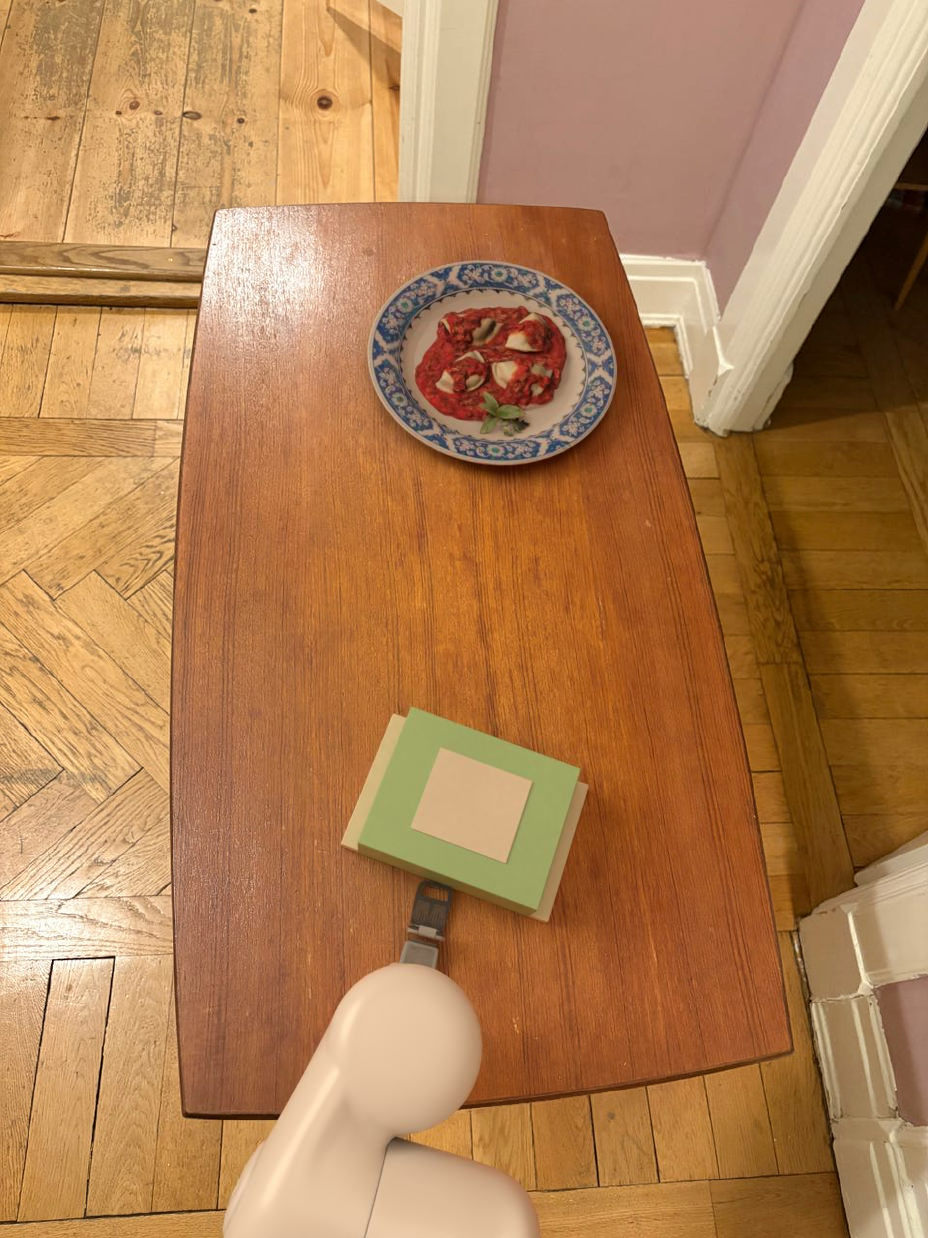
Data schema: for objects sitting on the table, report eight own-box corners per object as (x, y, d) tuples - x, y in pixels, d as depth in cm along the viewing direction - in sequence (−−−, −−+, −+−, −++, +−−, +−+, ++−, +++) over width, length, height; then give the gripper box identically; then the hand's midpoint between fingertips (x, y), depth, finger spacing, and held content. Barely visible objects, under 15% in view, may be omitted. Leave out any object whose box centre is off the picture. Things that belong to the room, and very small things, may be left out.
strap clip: (429, 997, 75) (432, 995, 71) (391, 987, 75) (393, 985, 71) (454, 888, 78) (459, 881, 74) (418, 879, 78) (421, 872, 74)
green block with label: (545, 923, 78) (556, 917, 73) (340, 846, 78) (339, 835, 74) (586, 788, 82) (599, 774, 78) (392, 716, 83) (394, 699, 79)
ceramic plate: (392, 254, 104) (393, 233, 101) (622, 299, 105) (629, 279, 102) (344, 449, 94) (343, 431, 91) (599, 497, 94) (606, 481, 91)
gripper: (412, 1213, 52) (399, 1173, 68) (498, 941, 58) (467, 965, 75) (284, 1162, 52) (302, 1135, 69) (383, 898, 58) (377, 931, 75)
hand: (388, 1047), depth 72 cm, fingers closed
